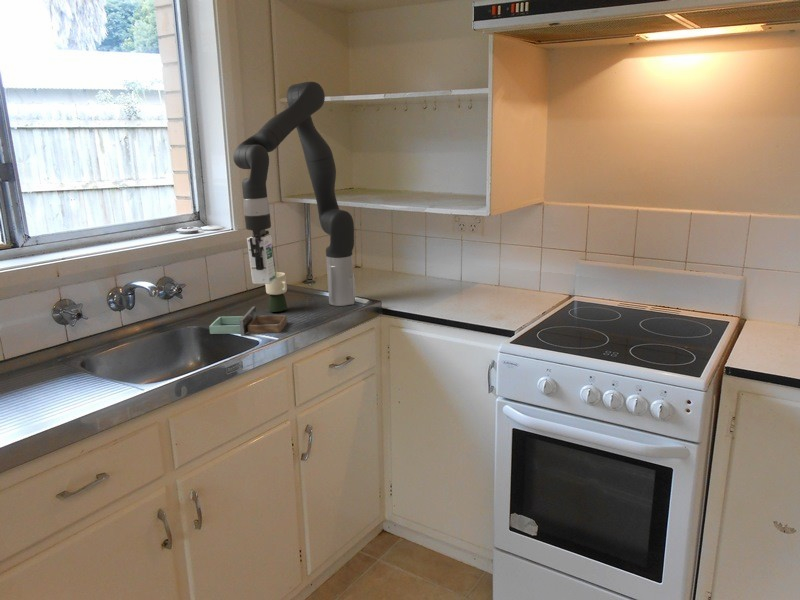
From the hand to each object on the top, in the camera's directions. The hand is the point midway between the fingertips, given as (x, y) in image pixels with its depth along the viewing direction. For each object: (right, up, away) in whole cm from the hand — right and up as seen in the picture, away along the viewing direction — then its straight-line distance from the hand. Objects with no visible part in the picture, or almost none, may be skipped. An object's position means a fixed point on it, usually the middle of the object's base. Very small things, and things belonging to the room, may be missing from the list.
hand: (262, 267), depth 193 cm
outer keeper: (-12, -19, +6) cm, 23 cm away
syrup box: (0, -5, +1) cm, 5 cm away
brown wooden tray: (0, -19, +5) cm, 20 cm away
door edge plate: (-6, -19, +6) cm, 21 cm away
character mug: (0, -14, +23) cm, 27 cm away
